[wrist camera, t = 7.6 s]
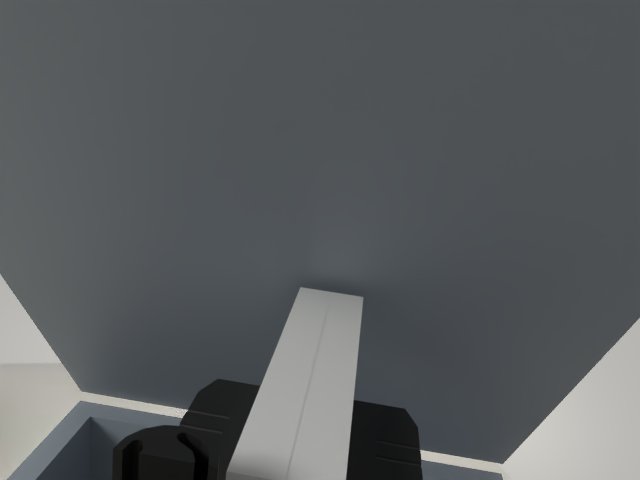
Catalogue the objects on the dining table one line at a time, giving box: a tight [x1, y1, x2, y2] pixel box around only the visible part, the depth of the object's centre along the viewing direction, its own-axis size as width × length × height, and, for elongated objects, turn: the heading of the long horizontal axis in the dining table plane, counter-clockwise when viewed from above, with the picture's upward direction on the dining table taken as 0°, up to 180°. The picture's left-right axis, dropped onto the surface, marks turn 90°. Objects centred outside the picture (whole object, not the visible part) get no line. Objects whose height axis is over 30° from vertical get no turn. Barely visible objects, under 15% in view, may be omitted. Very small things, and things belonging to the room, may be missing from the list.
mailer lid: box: [0, 0, 640, 464], centre depth 13 cm, size 22×16×1 cm
